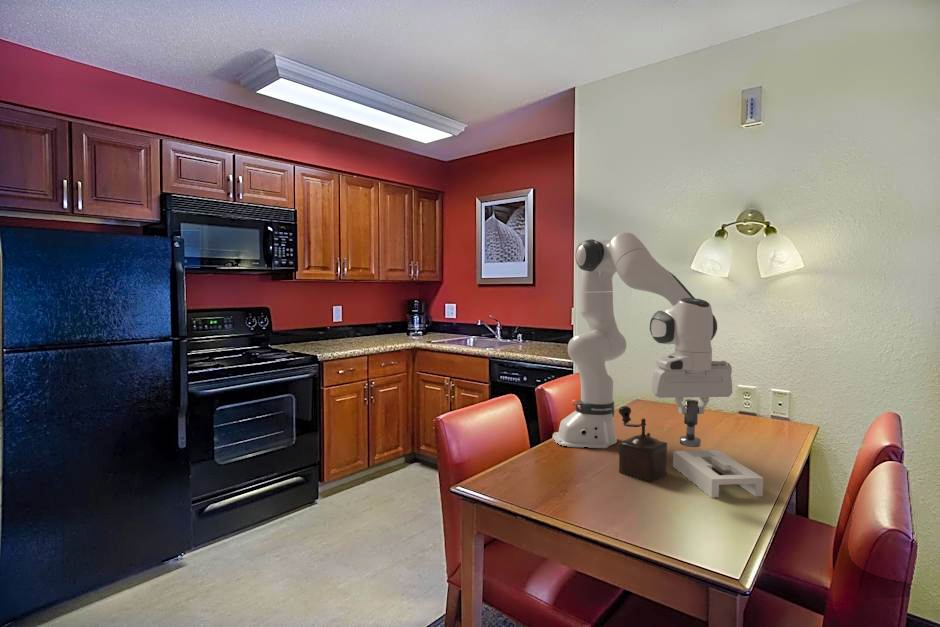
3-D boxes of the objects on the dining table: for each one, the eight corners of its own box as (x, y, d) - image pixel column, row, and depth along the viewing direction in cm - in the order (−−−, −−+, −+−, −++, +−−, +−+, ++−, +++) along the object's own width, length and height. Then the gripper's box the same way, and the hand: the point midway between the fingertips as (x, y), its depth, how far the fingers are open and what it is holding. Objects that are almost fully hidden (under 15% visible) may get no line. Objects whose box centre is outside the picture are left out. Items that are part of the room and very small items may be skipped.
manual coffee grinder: (669, 472, 151) (670, 413, 149) (650, 483, 143) (652, 420, 142) (622, 459, 162) (623, 403, 161) (602, 468, 154) (603, 410, 153)
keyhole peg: (685, 447, 131) (686, 403, 130) (676, 441, 135) (677, 398, 135) (704, 447, 131) (705, 403, 130) (694, 440, 136) (696, 398, 135)
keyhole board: (711, 497, 133) (711, 479, 133) (673, 466, 155) (673, 450, 155) (762, 496, 134) (763, 477, 134) (717, 465, 156) (717, 449, 156)
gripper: (724, 358, 135) (722, 409, 136) (650, 359, 134) (648, 410, 135) (738, 362, 129) (736, 416, 130) (660, 363, 128) (658, 417, 129)
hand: (691, 413), depth 133 cm, fingers closed on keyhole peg, 3 cm apart
